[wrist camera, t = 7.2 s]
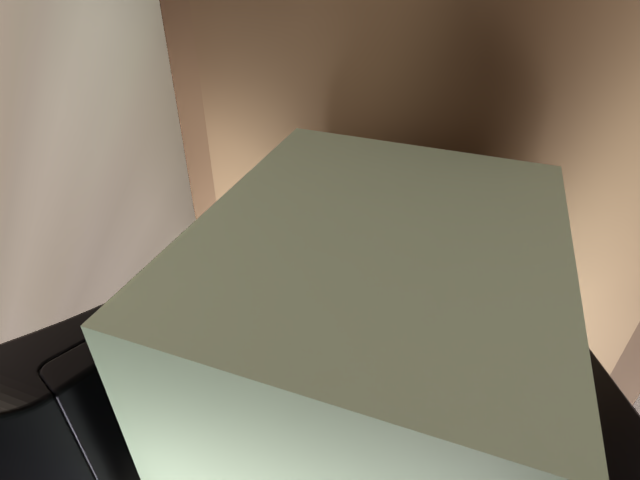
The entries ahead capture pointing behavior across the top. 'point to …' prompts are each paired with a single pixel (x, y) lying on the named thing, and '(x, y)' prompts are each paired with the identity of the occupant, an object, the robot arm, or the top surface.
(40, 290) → the top surface
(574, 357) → the block
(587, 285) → the base board
